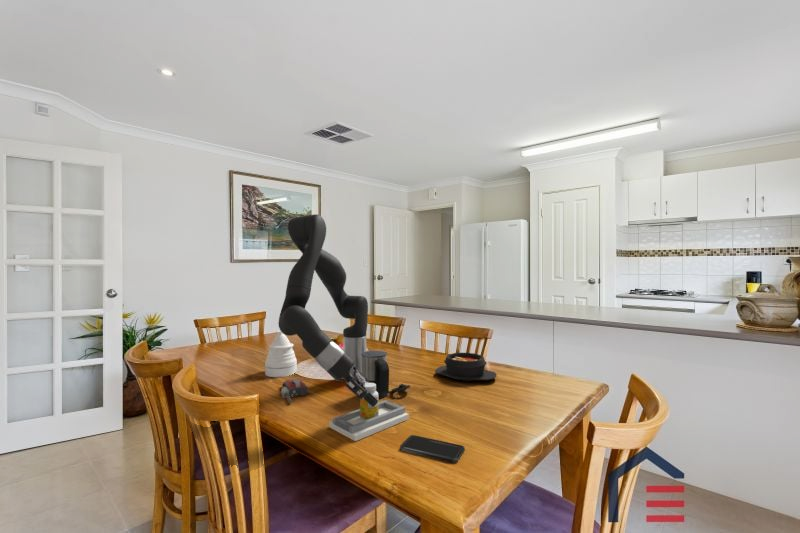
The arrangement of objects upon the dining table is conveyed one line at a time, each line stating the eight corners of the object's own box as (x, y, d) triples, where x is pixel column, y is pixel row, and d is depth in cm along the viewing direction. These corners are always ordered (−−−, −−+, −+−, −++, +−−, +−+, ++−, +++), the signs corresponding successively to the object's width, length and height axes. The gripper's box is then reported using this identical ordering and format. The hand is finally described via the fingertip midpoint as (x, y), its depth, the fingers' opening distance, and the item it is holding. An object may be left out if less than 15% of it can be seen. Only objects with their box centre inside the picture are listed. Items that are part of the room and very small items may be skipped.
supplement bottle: (357, 416, 113) (357, 383, 113) (374, 413, 115) (374, 380, 115) (363, 423, 108) (363, 388, 108) (381, 420, 110) (381, 386, 110)
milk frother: (355, 395, 135) (355, 353, 135) (387, 384, 147) (387, 345, 146) (383, 405, 125) (383, 360, 125) (415, 393, 137) (415, 351, 137)
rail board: (382, 408, 123) (382, 398, 123) (408, 419, 114) (408, 409, 114) (329, 427, 109) (329, 416, 109) (355, 441, 100) (355, 429, 100)
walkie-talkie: (276, 388, 143) (287, 406, 125) (276, 377, 143) (287, 393, 125) (300, 385, 147) (313, 402, 129) (300, 373, 147) (313, 389, 129)
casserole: (501, 375, 158) (501, 354, 158) (490, 388, 142) (490, 365, 141) (444, 367, 170) (444, 348, 169) (427, 379, 153) (427, 358, 153)
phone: (456, 461, 89) (398, 447, 95) (456, 465, 89) (398, 451, 95) (466, 446, 96) (411, 434, 103) (466, 450, 96) (411, 438, 103)
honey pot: (291, 377, 156) (291, 333, 156) (260, 377, 156) (260, 333, 156) (300, 368, 169) (300, 327, 169) (271, 368, 169) (271, 327, 169)
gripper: (341, 357, 103) (385, 399, 104) (345, 345, 118) (384, 382, 119) (322, 377, 103) (366, 419, 104) (328, 363, 117) (366, 400, 118)
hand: (375, 399), depth 111 cm, fingers open, 6 cm apart
